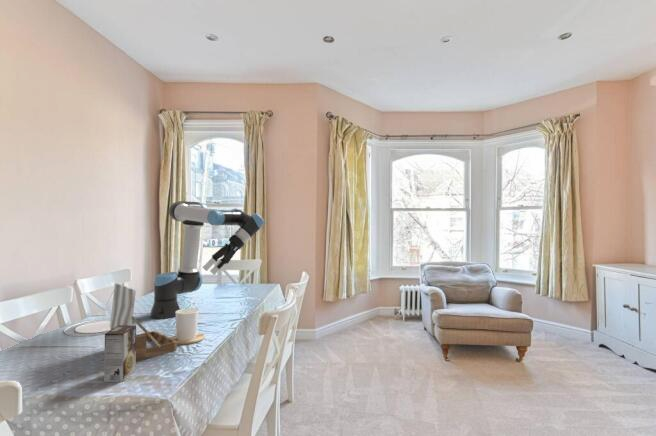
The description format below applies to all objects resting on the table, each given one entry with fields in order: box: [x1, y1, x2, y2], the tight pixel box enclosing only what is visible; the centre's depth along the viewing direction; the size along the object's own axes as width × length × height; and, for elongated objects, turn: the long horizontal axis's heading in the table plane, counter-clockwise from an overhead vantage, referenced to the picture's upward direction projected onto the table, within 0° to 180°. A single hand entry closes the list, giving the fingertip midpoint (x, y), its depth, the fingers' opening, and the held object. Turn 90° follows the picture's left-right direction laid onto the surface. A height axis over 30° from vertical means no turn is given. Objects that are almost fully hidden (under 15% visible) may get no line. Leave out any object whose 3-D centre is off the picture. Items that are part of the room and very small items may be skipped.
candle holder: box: [175, 307, 200, 341], centre depth 156 cm, size 10×10×12 cm
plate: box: [64, 317, 111, 337], centre depth 172 cm, size 28×28×1 cm
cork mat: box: [170, 332, 205, 346], centre depth 156 cm, size 15×15×1 cm
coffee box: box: [103, 325, 137, 383], centre depth 119 cm, size 9×6×16 cm
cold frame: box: [109, 282, 178, 362], centre depth 143 cm, size 22×18×27 cm
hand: (208, 271), depth 165 cm, fingers open, 13 cm apart
